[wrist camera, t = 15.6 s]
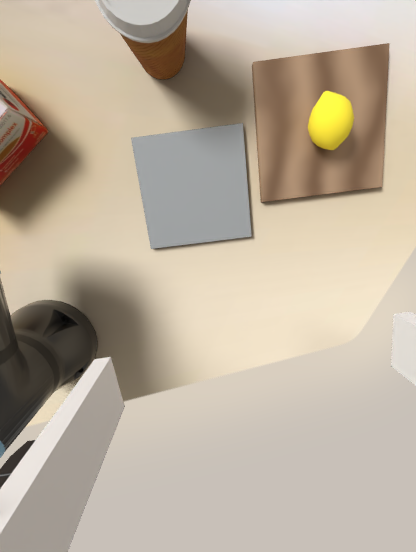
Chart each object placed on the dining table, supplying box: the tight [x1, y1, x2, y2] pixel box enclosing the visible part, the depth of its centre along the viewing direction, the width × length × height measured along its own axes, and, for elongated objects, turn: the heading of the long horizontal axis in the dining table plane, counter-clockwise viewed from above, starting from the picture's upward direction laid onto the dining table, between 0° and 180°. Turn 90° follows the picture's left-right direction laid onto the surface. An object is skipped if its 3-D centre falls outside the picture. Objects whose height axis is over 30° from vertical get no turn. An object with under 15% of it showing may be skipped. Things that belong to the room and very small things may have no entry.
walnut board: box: [252, 43, 389, 202], centre depth 35 cm, size 18×18×1 cm
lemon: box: [308, 91, 354, 150], centre depth 32 cm, size 7×5×5 cm
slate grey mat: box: [131, 123, 251, 249], centre depth 37 cm, size 16×16×1 cm
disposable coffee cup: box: [95, 0, 191, 79], centre depth 27 cm, size 10×10×12 cm
